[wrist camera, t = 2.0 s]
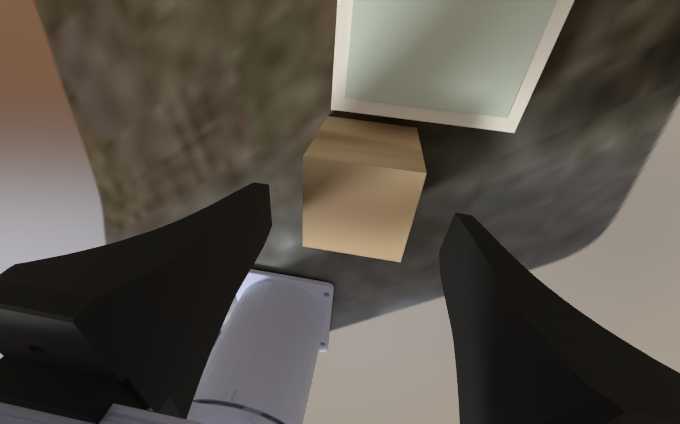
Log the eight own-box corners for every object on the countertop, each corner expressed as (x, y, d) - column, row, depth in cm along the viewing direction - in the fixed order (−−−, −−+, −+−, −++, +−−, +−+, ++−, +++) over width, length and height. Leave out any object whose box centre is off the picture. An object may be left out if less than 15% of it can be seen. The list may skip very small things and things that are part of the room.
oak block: (398, 202, 17) (400, 262, 13) (323, 190, 17) (302, 246, 13) (416, 127, 14) (426, 173, 10) (328, 115, 14) (303, 155, 10)
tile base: (497, 116, 13) (514, 133, 11) (338, 97, 14) (330, 110, 12) (596, -127, 9) (649, -163, 7) (356, -141, 9) (348, -179, 8)
